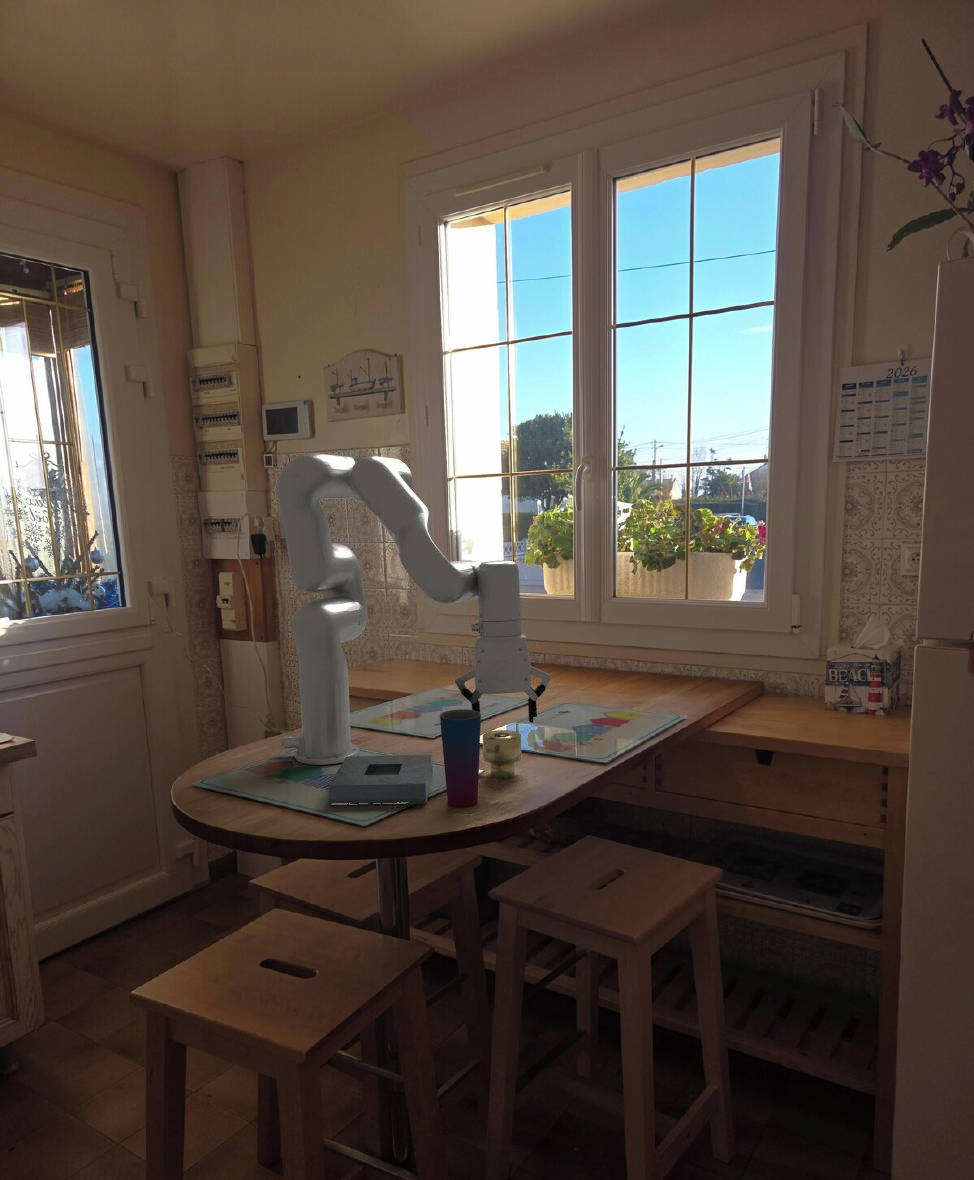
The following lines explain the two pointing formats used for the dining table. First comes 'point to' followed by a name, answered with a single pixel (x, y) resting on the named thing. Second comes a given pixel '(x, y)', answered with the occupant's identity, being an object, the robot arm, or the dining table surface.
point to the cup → (461, 755)
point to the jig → (382, 779)
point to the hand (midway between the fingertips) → (504, 722)
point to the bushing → (502, 752)
